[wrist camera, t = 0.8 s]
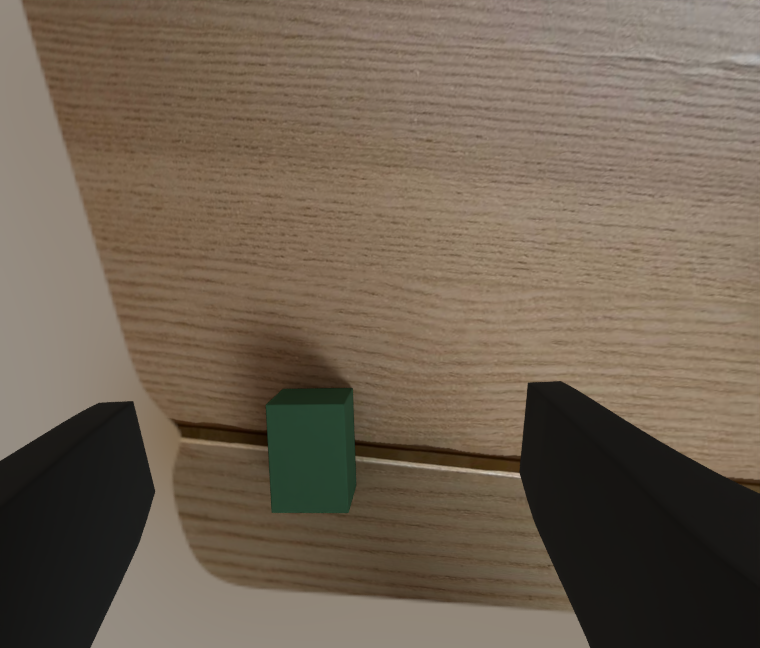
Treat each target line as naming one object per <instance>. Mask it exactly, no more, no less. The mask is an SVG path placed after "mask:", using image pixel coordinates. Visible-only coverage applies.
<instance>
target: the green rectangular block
mask: <svg viewBox="0 0 760 648" xmlns="http://www.w3.org/2000/svg"><path fill="white" fill-rule="evenodd" d="M266 419H267V437H268V455H269V473H270V491H271V509H272V513H349V509H350V506H351V502H352V499H353V495H354V492H355V488H356V464H355V436H354V409H353V388H310V389H282V390H281V391H280V392H279V393H278V394H277V395H276V396H275V397H274V398H272V399H271V400H270V401H269V402H268V403H267V404H266Z"/></svg>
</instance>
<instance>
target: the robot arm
mask: <svg viewBox="0 0 760 648" xmlns="http://www.w3.org/2000/svg"><path fill="white" fill-rule="evenodd" d="M520 476H521V479H522V483H523V486H524V490H525V493H526V497H527V500H528V503H529V507H530V510H531V513H532V516H533V519H534V522H535V524H536V527H537V529H538V531H539V534H540V536H541V538H542V541H543V543H544V545H545V547H546V550H547V552H548V554H549V556H550V559H551V561H552V563H553V565H554V567H555V570H556V572H557V574H558V576H559V579H560V581H561V583H562V585H563V587H564V590H565V592H566V594H567V596H568V598H569V601H570V603H571V605H572V607H573V609H574V612H575V614H576V616H577V618H578V621H579V623H580V625H581V627H582V629H583V632H584V634H585V636H586V638H587V641H588V643H589V646H590V648H760V494H759V493H757V492H755V491H753V490H751V489H748V488H746V487H744V486H742V485H740V484H738V483H736V482H734V481H732V480H730V479H728V478H726V477H724V476H722V475H720V474H718V473H716V472H714V471H712V470H710V469H709V468H707V467H705V466H703V465H701V464H699V463H698V462H696V461H694V460H692V459H690V458H688V457H687V456H685V455H683V454H681V453H679V452H678V451H676V450H674V449H672V448H671V447H669V446H667V445H665V444H664V443H662V442H660V441H659V440H657V439H655V438H654V437H652V436H650V435H649V434H647V433H645V432H644V431H642V430H640V429H639V428H637V427H635V426H634V425H632V424H630V423H629V422H627V421H626V420H624V419H623V418H621V417H619V416H618V415H616V414H615V413H613V412H611V411H610V410H608V409H607V408H605V407H603V406H602V405H600V404H599V403H597V402H596V401H594V400H592V399H591V398H589V397H588V396H586V395H584V394H583V393H581V392H579V391H578V390H576V389H574V388H573V387H571V386H569V385H567V384H565V383H563V382H561V381H554V382H533V383H528V388H527V399H526V409H525V420H524V430H523V441H522V451H521V462H520ZM154 494H155V489H154V484H153V480H152V476H151V473H150V468H149V464H148V460H147V456H146V452H145V448H144V443H143V439H142V436H141V431H140V427H139V423H138V419H137V415H136V411H135V407H134V403H133V401H127V402H107V403H98V404H96V405H94V406H92V407H89V408H87V409H86V410H84V411H82V412H80V413H78V414H77V415H75V416H73V417H71V418H70V419H68V420H66V421H65V422H63V423H61V424H60V425H58V426H56V427H55V428H53V429H51V430H50V431H48V432H47V433H45V434H43V435H42V436H40V437H38V438H37V439H35V440H34V441H32V442H30V443H29V444H27V445H25V446H24V447H22V448H21V449H19V450H17V451H16V452H14V453H12V454H11V455H9V456H8V457H6V458H4V459H3V460H1V461H0V648H90V647H91V645H92V643H93V641H94V639H95V637H96V634H97V632H98V630H99V628H100V626H101V624H102V622H103V620H104V617H105V615H106V613H107V611H108V609H109V607H110V605H111V602H112V601H113V598H114V596H115V594H116V592H117V590H118V588H119V586H120V584H121V582H122V579H123V577H124V575H125V573H126V571H127V569H128V566H129V564H130V562H131V560H132V558H133V556H134V553H135V551H136V549H137V547H138V544H139V542H140V539H141V536H142V533H143V530H144V527H145V524H146V520H147V517H148V514H149V511H150V507H151V504H152V500H153V497H154Z"/></svg>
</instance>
